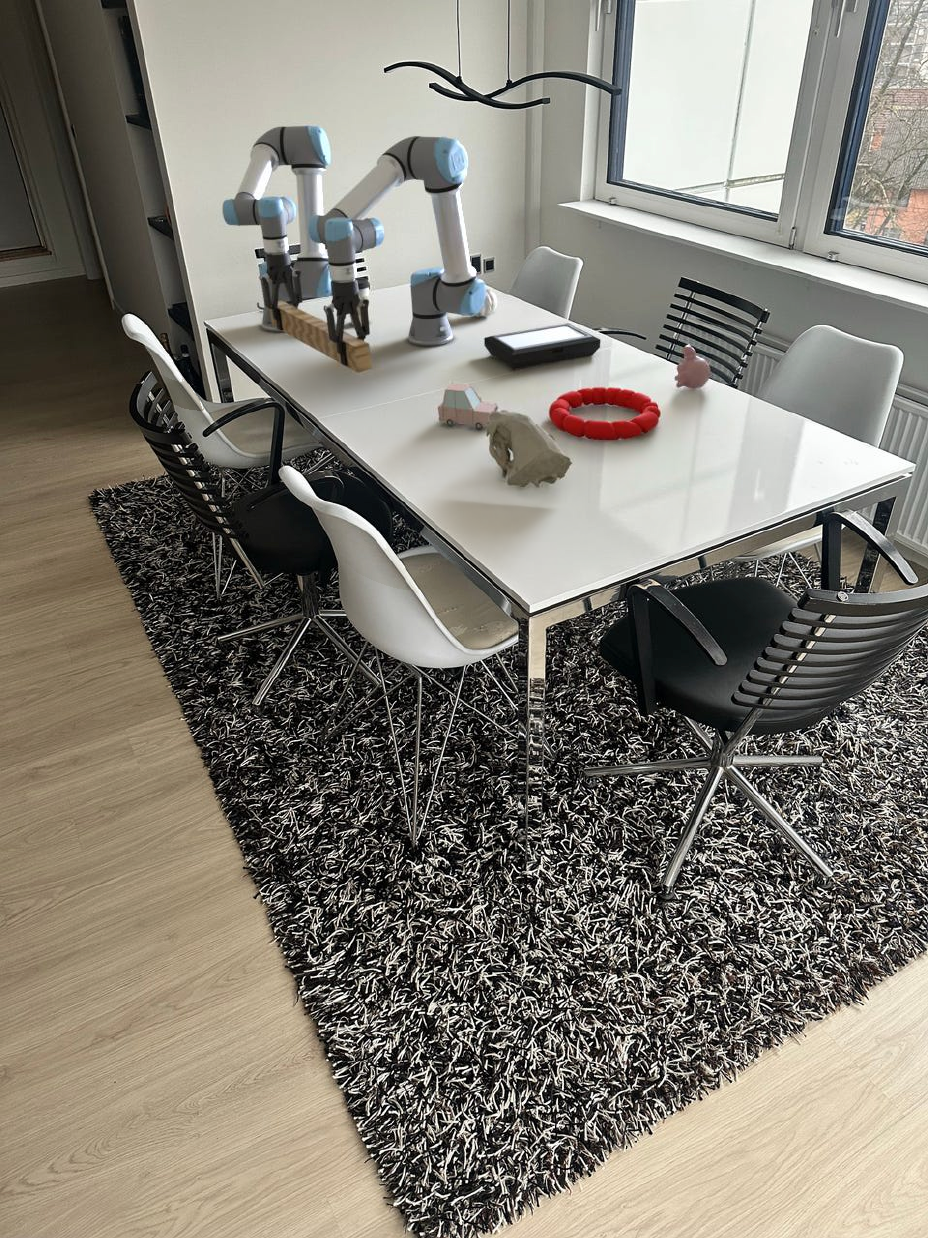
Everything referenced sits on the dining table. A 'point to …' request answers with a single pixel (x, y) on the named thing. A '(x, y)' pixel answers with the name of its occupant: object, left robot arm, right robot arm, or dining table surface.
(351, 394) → the dining table surface
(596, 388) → the decorative ring
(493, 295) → the seashell
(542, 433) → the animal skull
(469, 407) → the toy car
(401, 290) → the dining table surface
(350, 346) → the bar
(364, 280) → the coffee cup
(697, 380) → the figurine
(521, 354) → the electronic device
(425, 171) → the right robot arm
